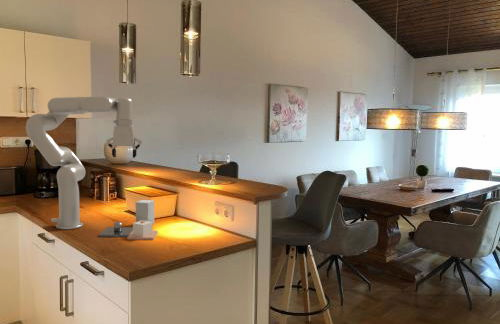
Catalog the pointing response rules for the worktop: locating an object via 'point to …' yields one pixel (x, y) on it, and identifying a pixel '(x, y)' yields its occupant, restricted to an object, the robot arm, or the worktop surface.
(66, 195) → the robot arm
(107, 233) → the post base
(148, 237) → the coaster
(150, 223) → the pale grey cube
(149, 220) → the supplement box
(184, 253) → the worktop surface
